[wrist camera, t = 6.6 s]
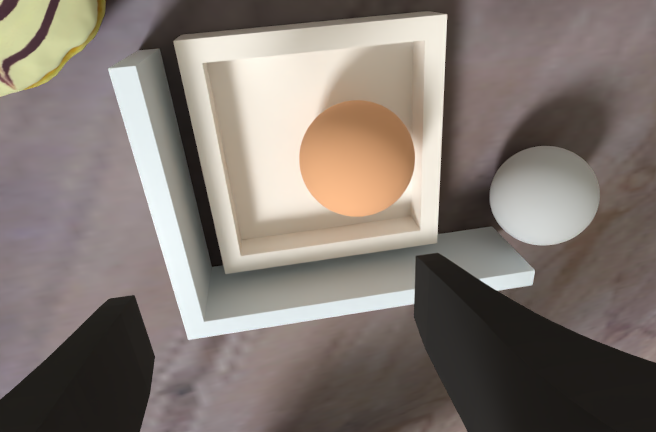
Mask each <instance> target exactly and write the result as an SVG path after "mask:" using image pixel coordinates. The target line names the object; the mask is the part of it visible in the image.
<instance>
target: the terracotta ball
mask: <svg viewBox="0 0 656 432" xmlns="http://www.w3.org/2000/svg"><path fill="white" fill-rule="evenodd" d="M299 163H300V171H301V175H302V178H303V181H304V183H305V185H306V187H307V189H308V190H309V192H310V193H311V195H312V196H313V197H314V198H315V199H316V200H317V201H318V202H319V203H320V204H321V205H323V206H324V207H326V208H327V209H329V210H331V211H333V212H335V213H338V214H341V215H345V216H352V217H362V216H368V215H373V214H376V213H378V212H381V211H383V210H385V209H387V208H388V207H389V206H391V205H392V204H394V203H395V202H396V201H397V200H398V199H399V198H400V197H401V196H402V194H403V193H404V192H405V190H406V189H407V187H408V185H409V183H410V181H411V178H412V175H413V172H414V166H415V149H414V145H413V141H412V138H411V135H410V133H409V131H408V129H407V128H406V126H405V124H404V123H403V122H402V121H401V120H400V118H399V117H398V116H397V115H395V114H394V113H393V112H392V111H391V110H389V109H387V108H386V107H384V106H382V105H379V104H377V103H374V102H370V101H363V100H352V101H345V102H342V103H339V104H336V105H333V106H331V107H330V108H328V109H326V110H325V111H323V112H322V113H321V114H319V115H318V116H317V117H316V118H315V119H314V121H313V122H312V123H311V124H310V126H309V127H308V129H307V131H306V133H305V134H304V137H303V139H302V143H301V146H300V153H299Z"/></svg>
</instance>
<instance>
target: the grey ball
mask: <svg viewBox="0 0 656 432" xmlns="http://www.w3.org/2000/svg"><path fill="white" fill-rule="evenodd" d="M599 200H600V189H599V184H598V181H597V178H596V175H595V173H594V172H593V170H592V168H591V167H590V166H589V165H588V164H587V162H586V161H584V160H583V159H582V158H581V157H580V156H578V155H577V154H575V153H573V152H571V151H569V150H566V149H564V148H560V147H555V146H537V147H532V148H528V149H525V150H522V151H520V152H518V153H516V154H515V155H513V156H512V157H510V158H509V159H508V160H506V161H505V162H504V163H503V164H502V165H501V167H500V168H499V169H498V171H497V172H496V174H495V176H494V178H493V181H492V184H491V188H490V205H491V209H492V213H493V215H494V217H495V219H496V221H497V222H498V224H499V225H500V226H501V227H502V228H503V229H504V230H505V231H506V232H507V233H508V234H510V235H511V236H512V237H514V238H516V239H518V240H520V241H522V242H525V243H529V244H533V245H554V244H559V243H562V242H565V241H568V240H570V239H572V238H574V237H575V236H577V235H578V234H580V233H581V232H582V231H583V230H584V229H585V228H586V227H587V226H588V225H589V224H590V223H591V221H592V220H593V218H594V216H595V214H596V212H597V209H598V205H599Z"/></svg>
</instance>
